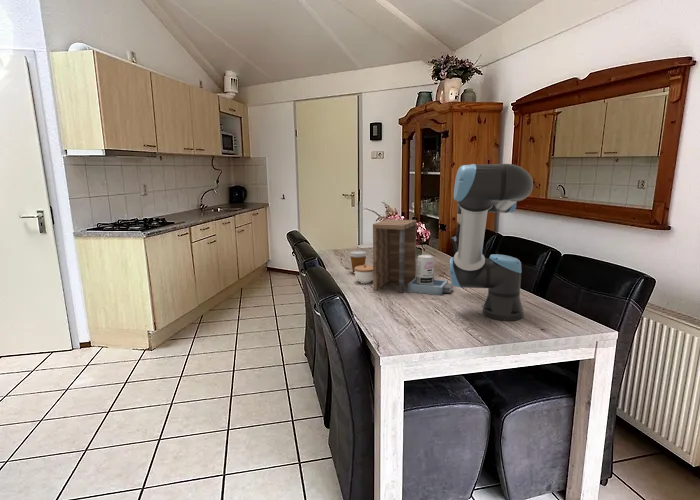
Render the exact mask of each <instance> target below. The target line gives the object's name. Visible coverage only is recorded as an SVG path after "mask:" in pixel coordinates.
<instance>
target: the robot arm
mask: <svg viewBox="0 0 700 500" xmlns="http://www.w3.org/2000/svg"><path fill="white" fill-rule="evenodd" d="M533 189H534V180H533V178H532V176H531V174H530V172H528V171H527V170H526V169H524V168H523V167H521V166H519V165H517V164H514V163H513V164H512V163H494V164H491V163H486V164H483V163H482V164H475V163H471V164H464V165H461V166H460V167H459V168H458V169H457V172H456V176H455V179H454V187H453V200H454V201H455V202H457V219H456V222H457V225H456V234H455V236H453V237H451V238H450V242H451V243H452V247H453V253H454V256H453V257H450V258H449V276H450V282H451V283H450V284H452V285H453V288H465V289H466V288H467V289H468V288H469V289H487V295H486V298H485V300H484V303H483V305H482V311H481V312H482V314H483V315H484V316H485V317H487V318H490V319H493V320H497V321H498V320H499V321H504V322H505V321H508V322H509V321H510V322H513V321H518V320H522V319H523V317H524V314H525V313H524V308H523V304H522V300H521V282H522V281H521V280H522V262H521V261H520V259H518V258H517V257H513V256H511V255H506V254H499V253H498V254H497V253H496V254H493V253H492V254H490V255H489V257H488V258H486V257H485V255H484V254H483V249H484V242H485V241H484V240H485V232H486V228H487V227H486V226H487V219H488V218H487V217H488V213H494V214H495V213H499V214H500V213H501V214H502V213H503V214H508V213H514V212H515V211H516V208H517V202H521V201H524V200H525V199H526V198H527V197H529V196H530V194H531V193H532V192H533ZM457 241H458V244H457Z"/></svg>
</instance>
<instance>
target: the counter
mask: <svg viewBox="0 0 700 500" xmlns="http://www.w3.org/2000/svg"><path fill="white" fill-rule="evenodd" d="M416 259H417V220H416V219H388V218H387V219H383V220H381V221H378V222H375V223H373V224H372V266H373V280H372V284H373V285H372V287H373V288H372V289H373V290H374V291H377V290H379V289H381V288H382V287H383V286H384V285H385V283H386V284H387V283H388V282H398V283H399V284H398V294H399V293H400V294H404V293H405V283H407V284H408V283H410V282H411V281H412V280H413V279H414V278H416ZM378 288H379V289H378Z"/></svg>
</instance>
